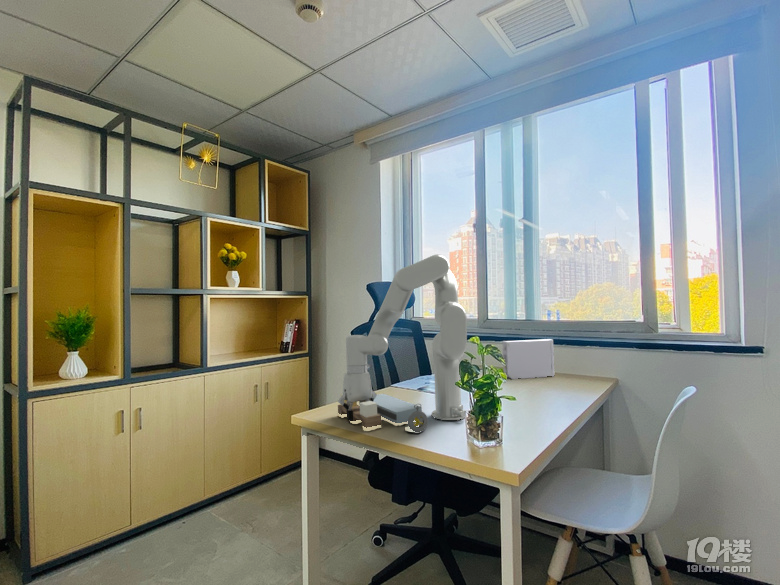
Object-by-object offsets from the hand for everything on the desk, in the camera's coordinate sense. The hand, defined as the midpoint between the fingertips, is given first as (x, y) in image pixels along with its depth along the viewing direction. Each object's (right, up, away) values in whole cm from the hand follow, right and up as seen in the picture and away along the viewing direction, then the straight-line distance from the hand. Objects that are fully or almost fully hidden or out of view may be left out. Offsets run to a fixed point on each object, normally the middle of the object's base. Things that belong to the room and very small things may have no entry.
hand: (358, 418), depth 139 cm
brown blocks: (0, -1, 0) cm, 1 cm away
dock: (+11, -1, +7) cm, 14 cm away
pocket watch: (+20, -1, -12) cm, 23 cm away
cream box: (+4, +3, -6) cm, 8 cm away
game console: (+88, 0, +69) cm, 112 cm away
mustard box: (-4, +3, +6) cm, 8 cm away
